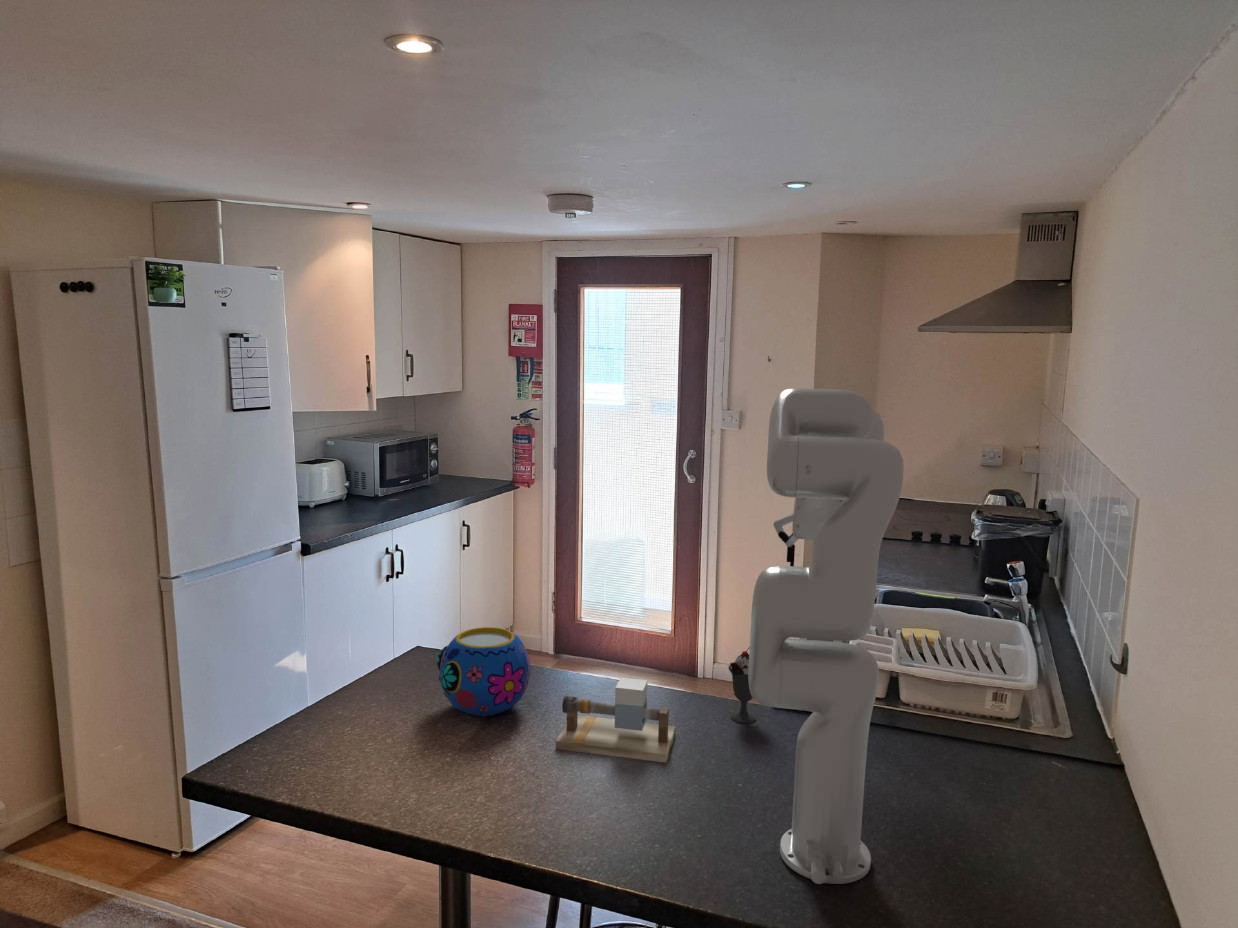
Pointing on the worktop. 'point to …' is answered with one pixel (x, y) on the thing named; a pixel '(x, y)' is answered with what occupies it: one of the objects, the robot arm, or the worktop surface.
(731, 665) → the sundae
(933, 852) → the worktop surface
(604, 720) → the board
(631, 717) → the sleeve
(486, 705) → the ceramic pot
